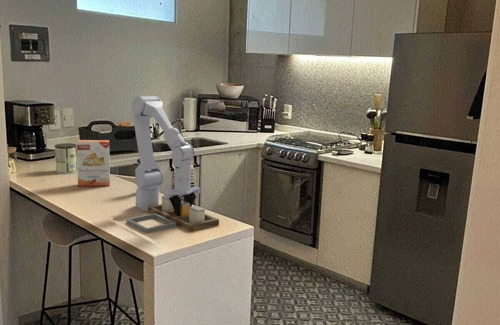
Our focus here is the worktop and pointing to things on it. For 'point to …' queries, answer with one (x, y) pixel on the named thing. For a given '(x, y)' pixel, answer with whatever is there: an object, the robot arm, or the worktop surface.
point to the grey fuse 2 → (196, 214)
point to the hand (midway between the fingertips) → (182, 214)
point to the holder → (184, 219)
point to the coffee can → (66, 158)
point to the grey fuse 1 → (166, 204)
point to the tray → (148, 230)
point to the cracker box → (93, 163)
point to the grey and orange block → (184, 209)
